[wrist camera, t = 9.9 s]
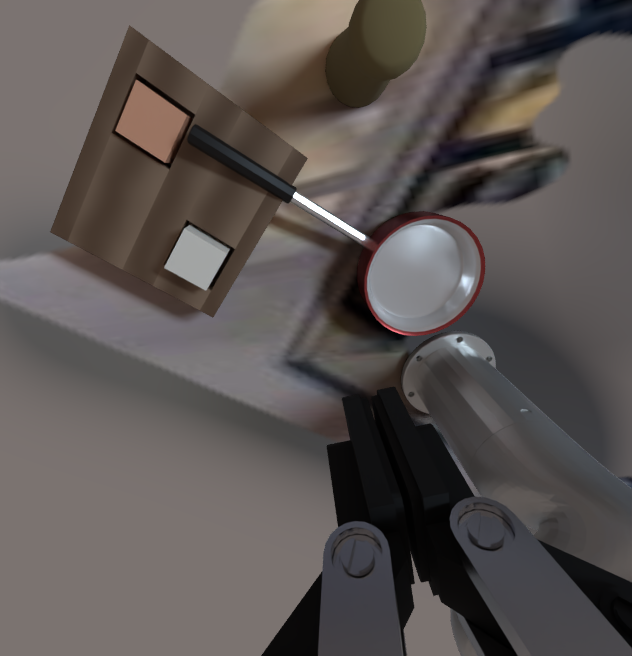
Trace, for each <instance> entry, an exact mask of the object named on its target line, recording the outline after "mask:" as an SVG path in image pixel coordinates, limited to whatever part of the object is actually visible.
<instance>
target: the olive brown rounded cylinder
mask: <svg viewBox="0 0 632 656" xmlns="http://www.w3.org/2000/svg"><path fill="white" fill-rule="evenodd" d="M426 28H427V27H426V14H425V10H424V7H423V4H422V2H421V0H359V1H358V3H357V4H356V6H355V8H354V11H353V14H352V17H351V19H350V22H349V27H348V28H347V29H345V30H344V31H343V32H342V33H341V34H340V35H339V36H338V37H337V38H336V40H335V41H334V42H333V44H332V45H331V47H330V49H329V52H328V55H327V58H326V69H325V72H326V77H327V83H328V85H329V87H330V89H331V91H332V93H333V95H334V96H335V97H336V98H337V99H338V100H339V101H340V102H341V103H343V104H345V105H347V106H350V107H358V108H359V107H363V106H367V105H369V104H371V103H372V102H374V101H375V100H376V99H378V97H379V96H380V95H381V93H382V92H383V91H384V89H385V88H386V86H387V85H388V83H389V81H390V80H391V79H395V78H397V77H398V76H400V75H401V74H403V73H404V72H406V71H407V70H408V69H409V68H410V67H411V66H412V65H413V63H414V62H415V61H416V59H417V58H418V55H419V53H420V51H421V48H422V46H423V44H424V40H425V34H426Z"/></svg>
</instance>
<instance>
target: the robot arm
mask: <svg viewBox="0 0 632 656" xmlns="http://www.w3.org/2000/svg"><path fill="white" fill-rule="evenodd" d="M495 368H496V363H495V357H494V354H493V351H492V350H491V348H490V347H489V345H488V344H487V343H486V342H484V341H483V340H482V339H481V338H479V337H478V336H476V335H474V334H471V333H469V332H463V331H450V332H445V333H441V334H438V335H435V336H433V337H431V338H429V339H428V340H426V341H424V342H423V343H422V344H420V345H419V346H418V347H417V348H416V349H415V350H414V351H413V352H412V353H411V354H410V356H409V357H408V359H407V360H406V362H405V365H404V367H403V370H402V375H401V386H402V389H403V392H404V394H405V396H406V398H407V400H408V401H409V402H410V404H411V405H412V406H414V407H415V408H416V409H418V410H420V411H421V412H424V413H427V414H430V415H431V417H432V418H433V420H434V421H435V423H436V425H437V426H438V428H439V429H440V431H441V433H442V434H443V436H444V438H445V439H446V441H447V442H448V444H449V446H450V447H451V449H452V450H453V452H454V454H455V455H456V457H457V459H458V460H459V462H460V463H461V465H462V467H463V468H464V470H465V471H466V473H467V475H468V476H469V478H470V480H471V481H472V483H473V484H474V486H475V487H476V489H477V491H478V492H479V494H480V495H481V496H482V497H475V496H474V495H473V493H472V491H471V489H470V488H469V486H468V484H467V483H466V481H465V479H464V477H463V476H462V474H461V472H460V471H459V469H458V467H457V465H456V464H455V462H454V460H453V459H452V457H451V455H450V454H449V452H448V450H447V448H446V447H445V445H444V443H443V442H442V440H441V438H440V436H439V435H438V433H437V431H436V430H435V428H434V427H433V425H432V424H426V425H421V426H416V427H415V425H414V423H413V421H412V420H411V418H410V416H409V414H408V412H407V410H406V408H405V406H404V404H403V402H402V400H401V398H400V396H399V394H398V392H397V390H396V388H395V387H390V388H385V389H381V390H377V395H375V396H372V404H373V410H374V417H375V420H374V417H373V414H372V411H371V409H370V406H369V403H368V400H367V398H366V397H365V398H361V399H360V396H359V394H357V395H352V396H347V397H343V398H342V401H343V406H344V411H345V416H346V421H347V426H348V431H349V436H350V440H349V441H344V442H340V443H335V444H330V445H327V452H328V458H329V465H330V472H331V480H332V487H333V494H334V501H335V508H336V515H337V522H338V528H337V529H336V530H335V531H334V532H333V533H332V534H331V535H330V536H329V538H328V540H327V542H326V544H325V549H324V554H323V571H322V572H321V574H320V575H319V577H318V578H317V579H316V581H315V582H314V583H313V585H312V586H311V587H310V589H309V590H308V592H307V593H306V594H305V596H304V597H303V599H302V600H301V601H300V603H299V604H298V605H297V607H296V608H295V610H294V611H293V612H292V614H291V615H290V617H289V618H288V619H287V621H286V622H285V623H284V625H283V626H282V628H281V629H280V630H279V632H278V633H277V635H276V636H275V637H274V639H273V640H272V641H271V643H270V644H269V646H268V647H267V648H266V650H265V651H264V653H263V654H262V655H261V656H407V652H406V643H405V636H404V627H405V625H406V623H407V621H408V619H409V617H410V615H411V613H412V611H413V609H414V602H413V595H412V588H411V584H414V583H415V582H414V575H413V567H412V560H411V554H412V558H413V561H414V564H415V567H416V570H417V573H418V576H419V579H420V581H421V582H426V581H429V584H430V587H431V590H432V593H433V595H434V596H435V595H439V597H440V600H441V602H442V603H444V604H445V605H447V606H448V607H450V608H451V610H450V612H451V626H452V631H453V635H454V638H455V641H456V644H457V647H458V650H459V652H460V655H461V656H632V488H630V487H629V486H628V485H626V484H625V483H624V482H623V481H621V480H620V479H619V478H617V477H616V476H615V475H613V474H612V473H611V472H610V471H608V470H607V469H606V468H605V467H604V466H602V465H601V464H600V463H599V462H597V461H596V460H595V459H594V458H593V457H592V456H591V455H589V454H588V453H587V452H586V451H585V450H584V449H583V448H581V447H580V446H579V445H578V444H577V443H576V442H575V441H574V440H573V439H571V438H570V437H569V436H568V435H567V434H566V433H565V432H564V431H563V430H562V429H561V428H559V427H558V426H557V425H556V424H555V423H554V422H553V421H552V420H551V419H549V418H548V417H547V416H546V415H545V414H544V413H543V412H542V411H541V410H539V408H538V407H536V406H535V405H534V404H533V403H532V402H531V401H530V400H529V399H528V398H527V397H525V396H524V395H523V394H522V393H521V392H520V391H519V390H518V389H517V388H516V387H515V386H514V385H513V384H511V383H510V382H509V381H508V380H507V379H506V378H505V377H504V376H503V375H502V374H500V372H498V371H497V370H496V369H495ZM526 526H527V527H530V528H532V529H535V530H538V531H537V532H536V533H535V534H534V535H533V534H532V533H531V532H530V531H529V530H528V529H527V528H526ZM410 551H411V553H410Z"/></svg>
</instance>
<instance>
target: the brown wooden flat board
mask: <svg viewBox="0 0 632 656" xmlns="http://www.w3.org/2000/svg"><path fill="white" fill-rule="evenodd" d="M136 80H138V81H139V82H141V83H143V84H144V85H146V86H147V87H149V88H150V89H152V90H153V91H155V92H156V93H157V94H159V95H160V96H162V97H163V98H165V99H166V100H167V101H169V102H170V103H172V104H173V105H175V106H176V107H177V108H179V109H180V110H182V111H183V112H184V113H186V114H187V115H189V116H190V117H192V118H193V121H192V123H191V125H190V127H189V129H188V131H187V133H186V136H185V138H184V140H183V142H182V144H181V146H180V148H179V150H178V153H177V155H176V157H175V159H174V161H173V163H165V162H163V161H162V160H160V159H158V158H157V157H155V156H154V155H152V154H151V153H149V152H148V151H146V150H144V149H143V148H141V147H140V146H138V145H137V144H135V143H134V142H132V141H130V140H129V139H127V138H126V137H124V136H123V135H121V134H120V133H118V132H117V131H115V130H116V128H117V125H118V123H119V120H120V118H121V116H122V113H123V111H124V108H125V106H126V103H127V101H128V98H129V96H130V93H131V91H132V89H133V86H134V84H135V81H136ZM195 124H197V125H199V126H200V127H202V128H203V129H205V130H206V131H208V132H210V133H211V134H213V135H214V136H216V137H217V138H219V139H221V140H222V141H224V142H225V143H227V144H228V145H230V146H231V147H233V148H235V149H236V150H238V151H239V152H241V153H242V154H244V155H246V156H247V157H249V158H250V159H252V160H253V161H255V162H257V163H258V164H260V165H261V166H263V167H264V168H266V169H268V170H269V171H271V172H272V173H274V174H275V175H277V176H279V177H280V178H282V179H283V180H285V181H286V182H288V183H289V184H290V185H292V184H293V182H294V181H295V179H296V177H297V175H298V174H299V172H300V170H301V169H302V167H303V165H304V164H305V162H306V160H307V159H308V158H307V157H305V156H304V155H303V154H301V153H300V152H299V151H297V150H296V149H294V148H293V147H292V146H290V145H289V144H288V143H286V142H285V141H284V140H282V139H281V138H280V137H278V136H277V135H276V134H274V133H273V132H272V131H270V130H269V129H268V128H266V127H265V126H264V125H262V124H261V123H260V122H258V121H257V120H256V119H254V118H253V117H252V116H250V115H249V114H248V113H246V112H245V111H244V110H242V109H241V108H240V107H238V106H237V105H236V104H234V103H233V102H232V101H230V100H229V99H227V98H226V97H225V96H223V95H222V94H221V93H219V92H218V91H217V90H215V89H214V88H213V87H211V86H210V85H209V84H207V83H206V82H205V81H203V80H202V79H201V78H199V77H198V76H196V75H195V74H194V73H193V72H191V71H190V70H189V69H187V68H186V67H185V66H183V65H182V64H181V63H179V62H178V61H176V60H175V59H174V58H173V57H171V56H170V55H169V54H167V53H166V52H165V51H163V50H162V49H160V48H159V47H158V46H156V45H155V44H154V43H152V42H151V41H150V40H148V39H147V38H145V37H144V36H143V35H142V34H140V33H139V32H138V31H136V30H135V29H134V28H132V27H131V26H129V28H128V30H127V33H126V36H125V38H124V41H123V43H122V46H121V49H120V51H119V54H118V57H117V59H116V62H115V64H114V67H113V69H112V72H111V75H110V77H109V80H108V83H107V85H106V88H105V90H104V93H103V96H102V99H101V101H100V104H99V106H98V109H97V111H96V114H95V117H94V119H93V122H92V124H91V127H90V129H89V132H88V135H87V137H86V140H85V143H84V145H83V148H82V150H81V153H80V156H79V158H78V161H77V164H76V166H75V169H74V171H73V174H72V177H71V179H70V182H69V184H68V187H67V189H66V192H65V195H64V197H63V200H62V203H61V205H60V208H59V210H58V213H57V216H56V218H55V221H54V224H53V226H52V229H51V233H53V234H55V235H57V236H59V237H61V238H63V239H65V240H66V241H68V242H70V243H72V244H74V245H76V246H78V247H80V248H82V249H83V250H85V251H87V252H89V253H91V254H93V255H95V256H97V257H99V258H101V259H102V260H104V261H106V262H108V263H110V264H112V265H114V266H116V267H118V268H120V269H122V270H123V271H125V272H127V273H129V274H131V275H133V276H135V277H137V278H139V279H141V280H142V281H144V282H146V283H148V284H150V285H152V286H154V287H156V288H158V289H160V290H162V291H163V292H165V293H167V294H169V295H171V296H173V297H175V298H177V299H179V300H181V301H182V302H184V303H186V304H188V305H190V306H192V307H194V308H196V309H198V310H200V311H202V312H203V313H205V314H207V315H209V316H211V317H214V315H215V313H216V312H217V310H218V308H219V307H220V305H221V303H222V302H223V300H224V298H225V297H226V295H227V293H228V292H229V290H230V288H231V287H232V285H233V283H234V281H235V280H236V278H237V276H238V275H239V273H240V271H241V270H242V268H243V266H244V265H245V263H246V261H247V260H248V258H249V256H250V255H251V253H252V251H253V250H254V248H255V246H256V244H257V243H258V241H259V239H260V238H261V236H262V234H263V233H264V231H265V229H266V228H267V226H268V224H269V223H270V221H271V219H272V218H273V216H274V214H275V212H276V211H277V209H278V207H279V206H280V204H281V202H282V201H283V200H282V199H280V198H278V197H276V196H274V195H273V194H271V193H269V192H268V191H266V190H264V189H263V188H261V187H259V186H258V185H256V184H255V183H253V182H251V181H250V180H248V179H246V178H245V177H243V176H241V175H240V174H238V173H236V172H235V171H233V170H231V169H230V168H228V167H226V166H225V165H223V164H221V163H220V162H218V161H216V160H215V159H213V158H212V157H210V156H208V155H207V154H205V153H203V152H202V151H200V150H198V149H197V148H195V147H193V146H192V145H190V144H188V142H187V137H188V134H189V131H190V129H191V128H192V126H193V125H195ZM190 224H193V225H195V226H196V227H198V228H199V229H201V230H203V231H204V232H206V233H208V234H209V235H211V236H213V237H214V238H216V239H218V240H219V241H221V242H223V243H224V244H226V245H228V246H229V247H231V248H230V250H229V252H228V254H227V255H226V257H225V259H224V261H223V262H222V264H221V266H220V268H219V269H218V271H217V273H216V275H215V276H214V278H213V280H212V282H211V283H210V285H209V287H208V289H207V290H204V289H202V288H200V287H198V286H196V285H195V284H193V283H191V282H189V281H187V280H185V279H184V278H182V277H180V276H178V275H176V274H175V273H173V272H171V271H169V270H167V269H165V268H164V267H165V265H166V263H167V261H168V259H169V257H170V255H171V253H172V251H173V249H174V248H175V246H176V244H177V242H178V240H179V238H180V236H181V234H182V232H183V230H184V228H186V227H187V226H189V225H190Z"/></svg>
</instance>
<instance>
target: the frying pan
mask: <svg viewBox="0 0 632 656" xmlns="http://www.w3.org/2000/svg"><path fill="white" fill-rule="evenodd" d="M187 142H188V144H190V145H192V146H193V147H195V148H197V149H198V150H200V151H202V152H203V153H205V154H207V155H208V156H210V157H212V158H213V159H215V160H216V161H218V162H220V163H221V164H223V165H225V166H226V167H228V168H230V169H231V170H233V171H235V172H236V173H238V174H240V175H241V176H243V177H245V178H246V179H248V180H250V181H251V182H253V183H255V184H256V185H258V186H259V187H261V188H263V189H264V190H266V191H268V192H269V193H271V194H273V195H274V196H276V197H278V198H280V199H282V200H283V201H284V202H286V203H290V202H291V203H293V204H294V205H296V206H298V207H299V208H301V209H302V210H304V211H306V212H307V213H309V214H311V215H312V216H314V217H316V218H317V219H319V220H321V221H322V222H324V223H325V224H327V225H329V226H330V227H332V228H334V229H335V230H337V231H339V232H340V233H342V234H343V235H345V236H347V237H348V238H350V239H352V240H353V241H355V242H357V243H358V244H360V245H362V246H363V247H364V248H363V250H362V253H361V255H360V258H359V262H358V267H357V282H358V287H359V291H360V293H361V296H362V298H363V300H364V302H365V303H366V305H367V306H368V308H369V309H370V311H371V312H372V314H373V315H374V316H375V318H376V319H377V320H378V321H379V322H380V323H381V324H382V325H383V326H385V327H386V328H388V329H390V330H392V331H394V332H397V333H400V334H403V335H412V336H417V335H427V334H431V333H435V332H438V331H440V330H442V329H444V328H446V327H448V326H450V325H451V324H453V323H454V322H456V321H457V320H458V319H459V318H460V317H462V316H463V315H464V314H465V313H466V311H467V310H468V309H469V308H470V307H471V306H472V304H473V303H474V301H475V299H476V298H477V296H478V294H479V292H480V289H481V287H482V284H483V280H484V274H485V257H484V253H483V249H482V246H481V244H480V242H479V240H478V238H477V237H476V235H475V234H474V233H473V232H472V231H471V229H469V228H468V227H467V226H466V225H464V224H463V223H461V222H459V221H457V220H455V219H452V218H450V217H446V216H443V215H439V214H436V213H431V212H425V211H419V212H409V213H405V214H402V215H399V216H397V217H395V218H393V219H390V220H389V221H387V222H386V223H384V224H383V225H382V226H380V227H379V228H378V229H377V230H376V231H375V232H374V233H373V234H372V236H371V237H368V236H367V235H365V234H363V233H362V232H360V231H359V230H357V229H356V228H354V227H352V226H351V225H349V224H348V223H346V222H345V221H343V220H341V219H340V218H338V217H337V216H335V215H333V214H332V213H330V212H329V211H327V210H326V209H324V208H322V207H321V206H319V205H318V204H316V203H314V202H313V201H311V200H310V199H308V198H307V197H305V196H303V195H302V194H300V193H299V192H297V191H296V189H297V188H296V187H294V186H293V185H290V184H289V183H288V182H286V181H285V180H283V179H282V178H280V177H279V176H277V175H275V174H274V173H272V172H271V171H269V170H268V169H266V168H264V167H263V166H261V165H260V164H258V163H257V162H255V161H253V160H252V159H250V158H249V157H247V156H246V155H244V154H242V153H241V152H239V151H238V150H236V149H235V148H233V147H231V146H230V145H228V144H227V143H225V142H224V141H222V140H221V139H219V138H217V137H216V136H214V135H213V134H211V133H210V132H208V131H206V130H205V129H203V128H202V127H200V126H199V125H197V124H195V125H193V126H192V128H191V129H190V131H189V134H188V137H187Z"/></svg>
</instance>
